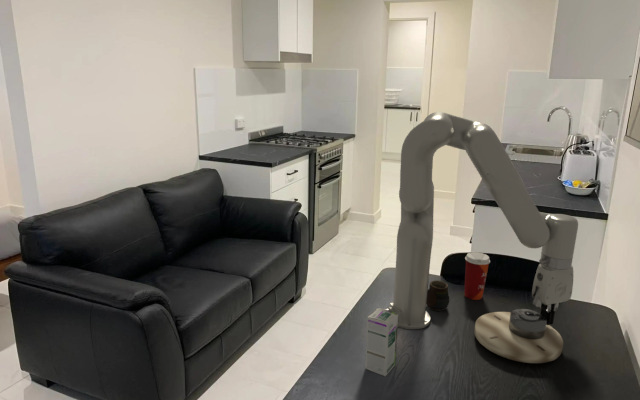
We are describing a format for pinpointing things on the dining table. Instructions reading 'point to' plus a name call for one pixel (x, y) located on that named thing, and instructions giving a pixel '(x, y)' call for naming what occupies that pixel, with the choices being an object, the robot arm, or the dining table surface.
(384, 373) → the syrup box
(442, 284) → the mate gourd
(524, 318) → the cover
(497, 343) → the turntable
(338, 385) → the dining table surface
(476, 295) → the paper cup
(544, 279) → the robot arm
